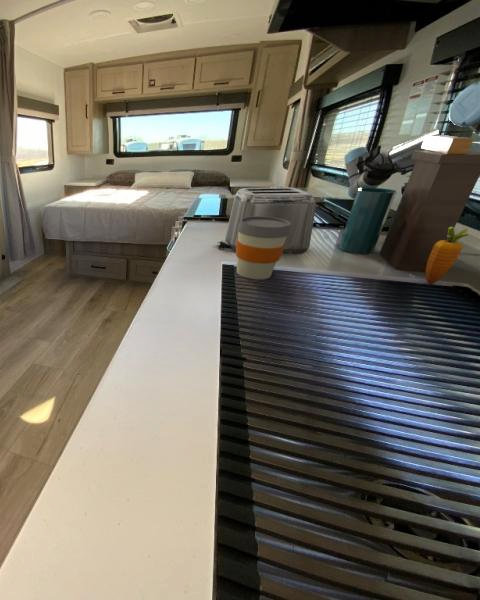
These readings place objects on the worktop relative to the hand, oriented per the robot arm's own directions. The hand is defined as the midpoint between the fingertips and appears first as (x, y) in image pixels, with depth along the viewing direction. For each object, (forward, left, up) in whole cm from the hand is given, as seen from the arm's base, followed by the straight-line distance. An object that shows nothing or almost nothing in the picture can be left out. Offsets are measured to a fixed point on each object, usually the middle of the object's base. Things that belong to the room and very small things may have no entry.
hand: (405, 149), depth 105 cm
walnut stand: (-8, +24, -29) cm, 38 cm away
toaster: (+30, +30, -30) cm, 52 cm away
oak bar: (-6, +19, +1) cm, 20 cm away
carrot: (-12, +39, -30) cm, 51 cm away
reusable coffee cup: (+26, +55, -30) cm, 68 cm away
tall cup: (+4, +17, -29) cm, 34 cm away
